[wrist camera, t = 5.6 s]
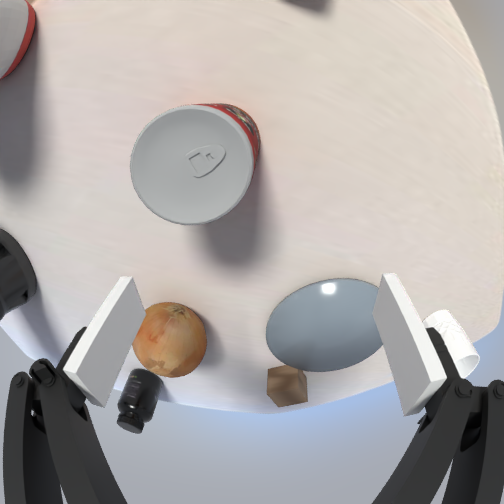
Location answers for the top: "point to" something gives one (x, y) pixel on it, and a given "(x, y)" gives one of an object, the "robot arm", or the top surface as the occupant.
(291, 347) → the plate
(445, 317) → the white cup
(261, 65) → the top surface
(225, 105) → the canned food
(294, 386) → the walnut block
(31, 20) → the citrus juicer
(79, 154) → the top surface
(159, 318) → the onion
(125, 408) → the supplement bottle
